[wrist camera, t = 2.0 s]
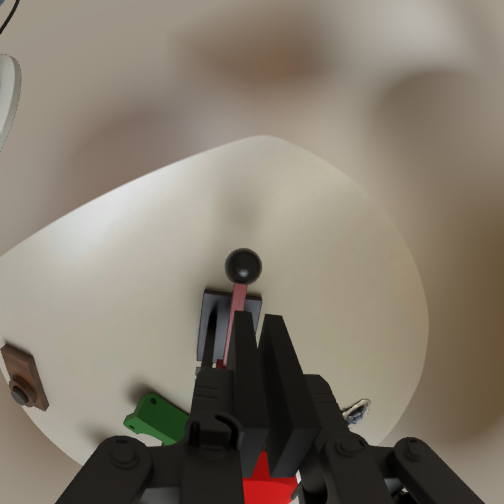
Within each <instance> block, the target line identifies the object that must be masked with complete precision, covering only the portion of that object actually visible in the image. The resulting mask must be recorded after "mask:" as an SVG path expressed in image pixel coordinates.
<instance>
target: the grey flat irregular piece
mask: <svg viewBox="0 0 504 504" xmlns="http://www.w3.org/2000/svg"><path fill="white" fill-rule="evenodd" d="M369 406H370V401H369V400H366V399H364V400H361V401H360V402H359V403H358V404H355V405H354V406H353V407H352V408H351V409H349V410H348V411H346V412H343V417H344V419H345V421H346V423H347V425H348V427H349V428H351V427H354V426H355V425H356V424H358V423H359V422H360V421H361V420H363V419H364V418H365V416H366V415H367V414H368V411H369Z"/></svg>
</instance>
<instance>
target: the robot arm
mask: <svg viewBox="0 0 504 504" xmlns="http://www.w3.org/2000/svg"><path fill="white" fill-rule="evenodd" d="M4 1H5V0H0V6H1V4H2V3H3V2H4ZM19 1H20V0H16V2H15V4H14V7H13V9H12V11H11V12H10V14H9V16H8V17H7V19H6V21H5V22H4V24H3V25H2V27H1V28H0V34H1V33H2V31H3V30H4V28H5V27H6V25H7V23H8V22H9V20H10V19H11V17H12V16H13V14H14V12H15V10H16V8H17V6H18V4H19ZM264 443H265V446H266V453H267V461H268V468H269V475H270V478H289V477H294V476H295V474H296V473H297V471H298V470H299V472H300V476H301V481H300V483H299V484H298V485H297V487H296V488H295V490H294V491H293V492H292V494H291V499H290V500H294V499H295V498H296V496H297V495H298V498H299V504H485V503H484V502H483V501H482V500H481V499H480V498H479V497H478V496H477V495H476V494H475V493H474V492H473V491H472V490H471V489H470V488H469V487H468V486H467V485H466V484H465V483H464V482H463V481H462V480H461V479H460V478H459V477H458V476H457V475H456V474H455V473H454V472H453V471H452V470H451V469H450V468H449V466H448V465H447V464H446V463H445V462H444V461H443V460H442V459H441V458H440V457H439V456H438V455H437V454H436V453H435V452H434V451H433V450H432V449H431V448H430V447H429V446H428V445H427V444H426V443H425V442H423V441H422V440H420V439H417V438H414V437H406V438H403V439H401V440H399V441H398V442H397V443H396V445H395V446H394V447H379V446H371V445H369V444H368V443H367V442H366V440H365V439H364V438H363V437H361V436H360V435H358V434H356V433H353V432H350V430H349V427H348V425H347V423H346V421H345V419H344V417H343V414H342V412H341V410H340V408H339V406H338V403H336V399H335V397H334V395H332V390H331V388H330V386H329V384H328V383H327V382H326V381H325V380H324V379H323V378H322V377H321V376H320V375H315V374H303V372H302V369H301V366H300V364H299V361H298V358H297V355H296V353H295V350H294V347H293V345H292V342H291V339H290V336H289V334H288V331H287V328H286V326H285V323H284V320H283V317H282V316H280V315H271V314H265V317H264V322H263V326H262V331H261V336H260V340H259V345H258V349H257V343H256V336H255V330H254V323H253V316H252V312H246V311H239V310H235V311H234V317H233V323H232V329H231V335H230V342H229V348H228V354H227V362H226V369H219V368H212V367H205V366H204V367H203V368H202V369H201V370H200V371H199V372H198V374H197V375H196V381H195V387H194V393H193V399H192V406H191V412H190V418H189V419H188V420H187V422H186V424H185V427H184V437H183V438H182V439H181V440H180V441H178V442H176V443H174V444H171V445H166V446H155V447H147V446H146V445H145V444H144V443H142V442H141V441H139V440H137V439H136V438H132V437H129V436H113V437H110V438H107V439H106V440H104V441H103V442H102V443H101V444H100V445H99V446H98V447H97V449H96V450H95V451H94V453H93V454H92V455H91V457H90V458H89V459H88V460H87V462H86V463H85V464H84V466H83V467H82V468H81V470H80V471H79V472H78V474H77V475H76V476H75V478H74V479H73V480H72V482H71V483H70V484H69V486H68V487H67V488H66V490H65V491H64V492H63V493H62V495H61V496H60V498H59V499H58V500H57V501H56V503H55V504H245V497H244V488H243V478H251V476H252V474H253V471H254V469H255V466H256V464H257V461H258V459H259V456H260V454H261V451H262V448H263V446H264ZM404 487H405V489H406V490H407V491H408V492H404V491H402V489H403V488H404Z"/></svg>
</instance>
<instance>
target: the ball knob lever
mask: <svg viewBox="0 0 504 504" xmlns="http://www.w3.org/2000/svg"><path fill="white" fill-rule="evenodd" d="M261 271H262V262H261V259H260V257H259V256H258V255H257V253H255V252H254V251H253V250H251V249H247V248H239V249H236V250H234V251H233V252H231V253H230V254H229V255H228V257H227V259H226V261H225V272H226V275H227V277H228V278H229V279H230V280H231V281H232V282H233V283H234V287H233V294H232V301H231V307H230V314H229V321H228V328H227V335H226V342H225V349H224V356H223V359H217V363H216V368H219V369H226V362H227V354H228V348H229V342H230V335H231V329H232V323H233V317H234V311H235V310H239V311H243V310H244V304H245V297H246V291H247V285H249V284H252V283H253V282H255V281H256V280H257V279H258V278H259V276H260V274H261Z"/></svg>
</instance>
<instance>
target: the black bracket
mask: <svg viewBox="0 0 504 504" xmlns="http://www.w3.org/2000/svg"><path fill="white" fill-rule="evenodd" d="M232 294H233V293H226V292H219V291H213V290H206V289H205V290H204V293H203V302H202V311H201V320H200V329H199V339H198V350H197V361H202V363H201V367H196V372H195V380H196V375H197V374H198V372H199V371H200V370H201V369H202V368H203V367H204V366H205V367H212V365H213V363H217V359H223V356H224V349H225V342H226V335H227V328H228V321H229V314H230V307H231V301H232ZM261 306H262V298H261V297H256V296H248V295H246V297H245V304H244V310H243V311H246V312H252V316H253V323H254V330H255V335H256V330H257V325H258V320H259V315H260V311H261Z"/></svg>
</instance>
